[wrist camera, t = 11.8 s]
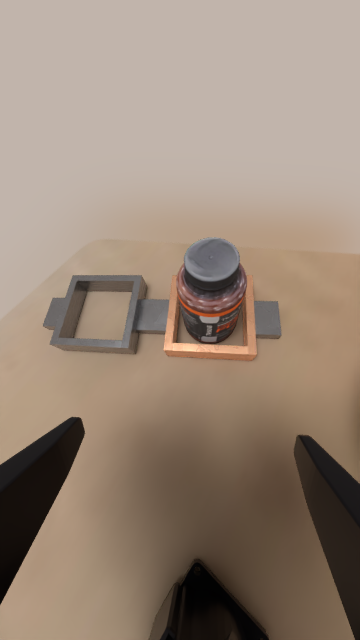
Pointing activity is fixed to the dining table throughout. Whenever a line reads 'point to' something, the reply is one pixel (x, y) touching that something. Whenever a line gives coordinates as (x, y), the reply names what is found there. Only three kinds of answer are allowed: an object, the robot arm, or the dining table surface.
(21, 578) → the dining table surface
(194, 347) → the socket rail
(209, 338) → the supplement bottle
